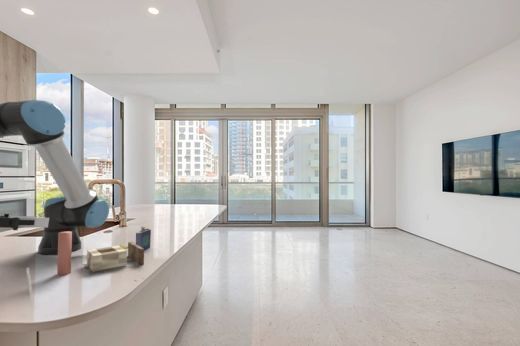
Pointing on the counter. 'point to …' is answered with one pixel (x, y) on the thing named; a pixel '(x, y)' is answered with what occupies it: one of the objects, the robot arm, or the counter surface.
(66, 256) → the dowel
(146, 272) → the counter surface
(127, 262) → the grey fixture base
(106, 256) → the socket block
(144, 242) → the flask
